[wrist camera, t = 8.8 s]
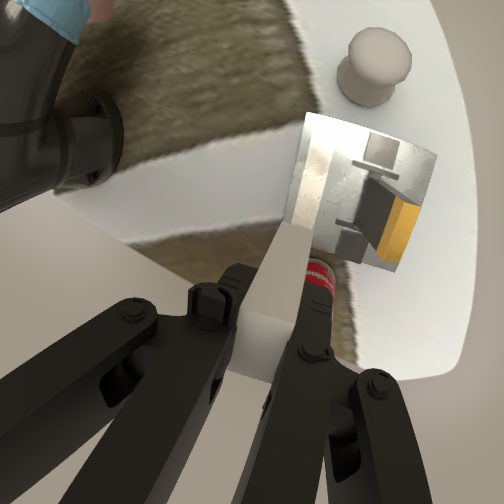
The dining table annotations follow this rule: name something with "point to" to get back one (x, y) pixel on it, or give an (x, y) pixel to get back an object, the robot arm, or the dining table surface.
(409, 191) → the panel
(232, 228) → the dining table surface
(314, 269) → the pill bottle
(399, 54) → the salt shaker
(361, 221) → the paddle
